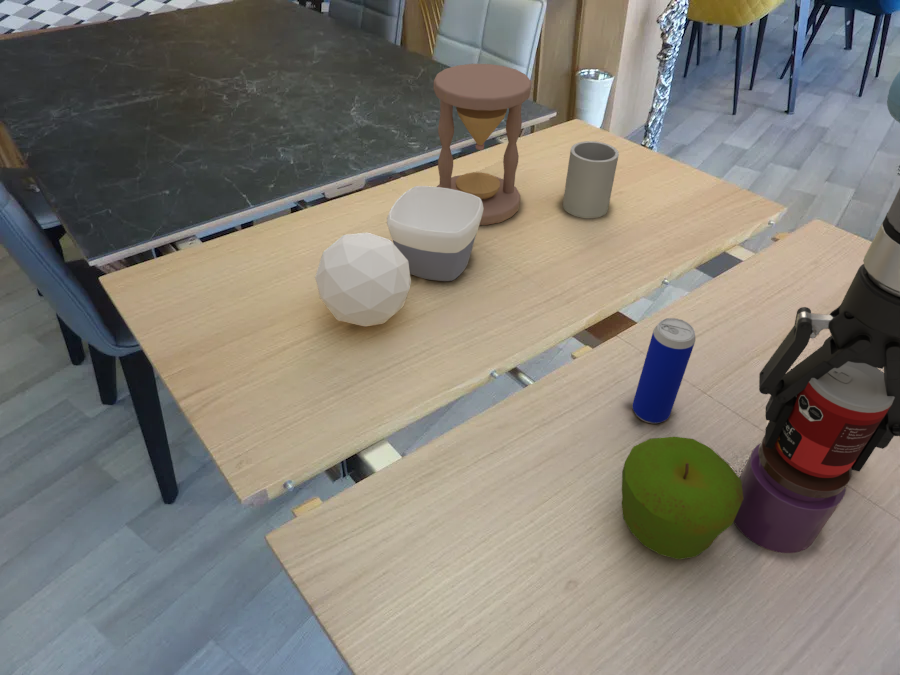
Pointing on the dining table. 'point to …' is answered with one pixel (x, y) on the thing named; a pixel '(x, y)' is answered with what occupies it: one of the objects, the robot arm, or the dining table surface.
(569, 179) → the cup
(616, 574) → the dining table surface
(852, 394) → the canned food
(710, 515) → the apple
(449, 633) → the dining table surface
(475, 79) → the hourglass
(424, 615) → the dining table surface
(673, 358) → the beverage can
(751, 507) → the jar
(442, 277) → the bowl
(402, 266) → the geometric shape
